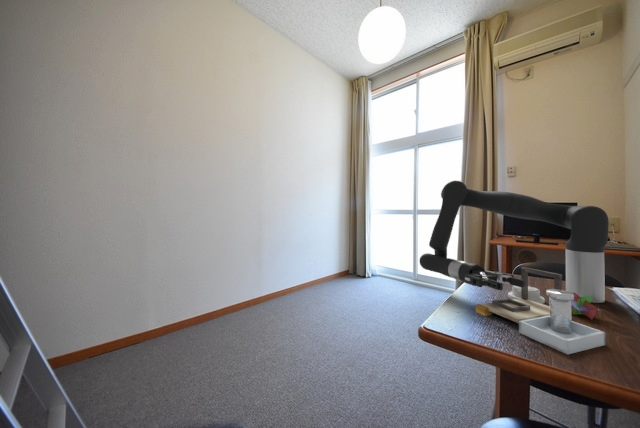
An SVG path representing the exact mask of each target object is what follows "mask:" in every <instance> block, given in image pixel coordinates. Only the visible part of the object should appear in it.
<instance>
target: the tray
mask: <svg viewBox="0 0 640 428" xmlns="http://www.w3.org/2000/svg"><path fill="white" fill-rule="evenodd" d="M518 333H519V334H521V335H524V336H525V337H527V338H530V339H532V340H534V341H537V342H539V343H541V344H543V345H546V346H548V347H551V348H552V349H554V350H557V351H558V352H561V353H563V354H565V355H570V354H574V353H579V352H582V351H588V350H590V349H594V348H600V347H602V346H606V332H605V331H602V330H600V329H597V328H594V327H591V326H588V325H585V324H582V323H579V322H576V321H574V320H572V334H562V333H558V332H555V331H553V330H551V329H550V315H549V316H544V317H538V318H533V319H528V320H522V321H519V324H518Z"/></svg>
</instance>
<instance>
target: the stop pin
mask: <svg viewBox="0 0 640 428" xmlns="http://www.w3.org/2000/svg"><path fill="white" fill-rule="evenodd" d="M545 292H546V293H545V294H546V296H547V297H548V299H549V300H548V301H549V302H548V303H549V305H548V306H549V309H550V329H551V330H553V331H555V332H558V333H562V334H572V321H573V320H572V318H573V317H572V315H571V314H572V306H571V300H574V294H573V293H571V292H568V291H566V290H563V289H562V290H558V289H554V288H549V289H546V291H545Z"/></svg>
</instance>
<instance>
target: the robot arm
mask: <svg viewBox="0 0 640 428" xmlns="http://www.w3.org/2000/svg"><path fill="white" fill-rule="evenodd" d="M440 198H441V199H442V202H441V208H440V211H439V215H438V217H437V219H436V222H435V225H434V227H433V229H432V233H431V236H430V239H429V243H428V246H429V247H430V248H431V249H433V250H434V253H433V254H432V253H429V252H428V253H423V254H422V255H421V256H420V257H419V265H420V266H421V268H422V269H424V270H427V271H430V272H434V273H439V274H441V275H443V276H446V277H448V278H452V279H454V280H456V281H459V282H462V283H464V284H467V285H470V286H474V287H478V288H482V287H484V288H491V289H494V290H498V291H503V289H504V285H503V284H506V285H512V286H518V287H524V286H525V282H524V280H521V278H517V277H515V275H514V274H510V273H506V272H501V271H498V270H495V271H491V270H485V269H484V267H483V266H482V265H480V264H478V263H473V262H470V261H466V260H465V261H464V260H458V259H453V258H449V257H447V256H448V245H449V242H450V239H451V235H452V232H453V228H454V225H455V221H456V218H457V215H458V212H459V210H460V207H461V206H464V207H471V208H476V209H480V210H482V211H486V212H491V213H494V214H498V215H502V216H507V217H511V218H516V219H523V220H531V221H539V222H540V221H541V222H545V223H549V224H552V225H556V226H560V227H562V228H566V229H569V230H570V237H569V239H568V240H567V241H566V242H565V246H564V247H565V291H568V292H571V293H573V292H574V293H576V294H578V293H579V294H578V295H580V296H581V297H591V296H594V297H593V299H592V301H591V302H590V303H595V304H596V303H597V304H600V303H605V299H606V297H605V296H606V294H605V293H606V289H605V288H606V287H605V285H606V284H605V276H606V275H605V248H606V246H607V244H608V241H609V240H608V239H609V224H610V223H609V217H608V214H607V212H606V211H605V210H604V209H603V208H601V207H599V206H595V205H566V204H558V203H557V204H556V203H552V202H551V203H550V202H547V201H544V200H542V199H538V198H536V197H532V196H529V195H525V194H522V193H516V192H509V191H500V190H499V191H494V190H493V191H492V190H491V191H489V190H488V191H486V190H485V191H483V190H477V189H472V188H468V187H467V185H466V184H465V183H464V182H463V181H461V180H451V181H449V182H447V183H446V184H444V186H443V187H442V190H441V192H440ZM583 294H584V295H583ZM588 295H589V296H588ZM594 298H595V299H594Z"/></svg>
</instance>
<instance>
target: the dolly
mask: <svg viewBox="0 0 640 428" xmlns="http://www.w3.org/2000/svg"><path fill="white" fill-rule="evenodd" d="M529 273H530V274H535V275H538V276H542V277H543V276H544V277H548V278H553V281H554V282H553V285H554V286H553V289H558V290H563V274H561V273H557V272H550V271H547V270H546V271H545V270H542V269H541V270H540V269H535V268H530V267H527V266H521V267H520V274H521V275H520V279H521V280H524V282H525V286H524V287H521V298H519V299H511V298H509V297H508V298H500V299H493V300H492V301H491V302H488V303H479V304H478V303H476V304H475V313H477V314H479V315H481V316H484V317H487V316H488V317H489V316H492V315H493V314H496V315H498V316H501V317H503V318H504V319H508V320H510V321H512V322H514V323H517V325H519V321H522V320H528V319H533V318H538V317H544V316H549V315H550V309H549V305H547V304H540V303H537V302H534V301H531V300H528V286H529V275H528V274H529Z"/></svg>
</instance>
